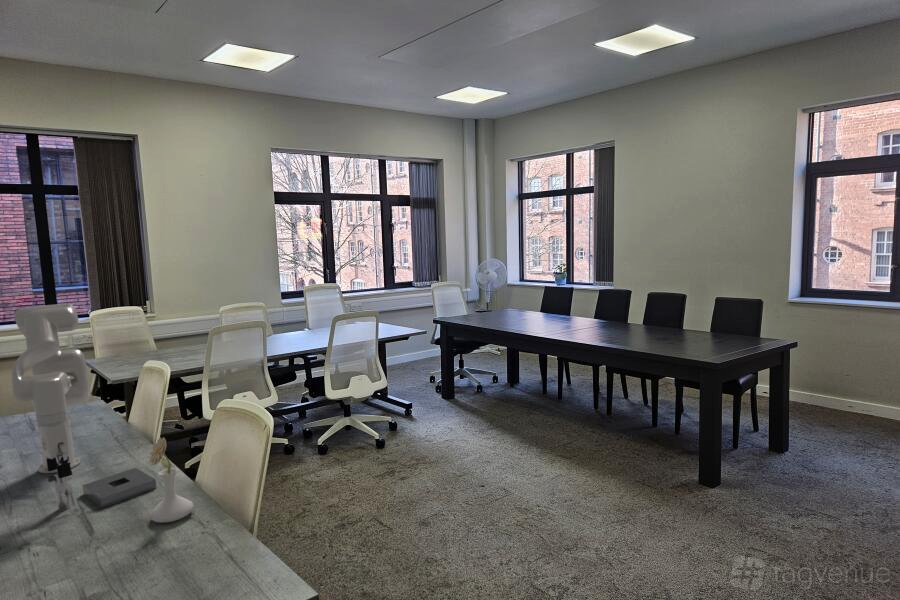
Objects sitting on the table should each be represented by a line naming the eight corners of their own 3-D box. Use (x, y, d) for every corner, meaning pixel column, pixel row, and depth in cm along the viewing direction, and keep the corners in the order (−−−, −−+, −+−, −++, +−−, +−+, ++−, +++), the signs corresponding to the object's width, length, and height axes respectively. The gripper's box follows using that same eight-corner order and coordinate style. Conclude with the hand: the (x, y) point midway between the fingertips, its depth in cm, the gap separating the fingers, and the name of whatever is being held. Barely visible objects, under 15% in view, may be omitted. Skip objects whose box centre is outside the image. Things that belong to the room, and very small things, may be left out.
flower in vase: (153, 512, 163) (143, 431, 160) (195, 503, 167) (186, 424, 164) (148, 533, 151) (138, 446, 148) (193, 523, 155) (184, 438, 152)
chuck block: (83, 494, 177) (82, 485, 177) (136, 476, 189) (135, 467, 189) (102, 507, 167) (100, 498, 167) (156, 487, 179) (155, 479, 179)
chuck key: (51, 510, 167) (46, 476, 165) (74, 503, 171) (69, 469, 170) (54, 513, 165) (49, 479, 163) (77, 505, 169) (72, 471, 168)
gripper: (28, 417, 167) (36, 471, 169) (46, 426, 156) (54, 484, 158) (57, 410, 173) (64, 463, 175) (76, 419, 162) (83, 474, 164)
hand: (59, 473), depth 166 cm, fingers open, 9 cm apart
